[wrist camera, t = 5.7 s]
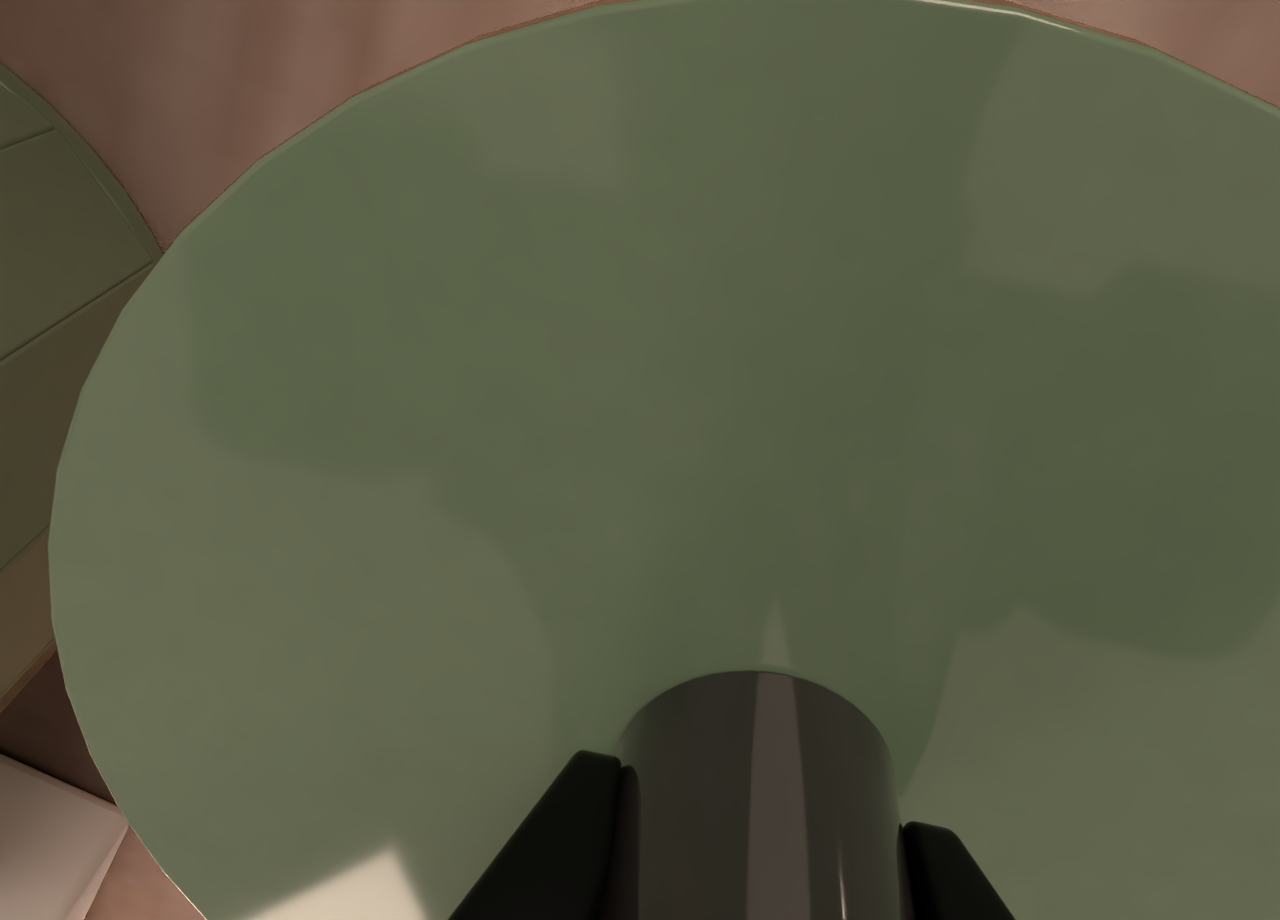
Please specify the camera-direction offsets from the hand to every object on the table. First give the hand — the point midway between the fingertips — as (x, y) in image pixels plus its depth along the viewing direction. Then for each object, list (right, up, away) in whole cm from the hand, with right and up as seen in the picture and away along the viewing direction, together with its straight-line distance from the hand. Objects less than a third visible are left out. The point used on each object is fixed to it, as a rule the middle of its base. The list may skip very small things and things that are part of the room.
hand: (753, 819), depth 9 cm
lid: (0, +1, +1) cm, 1 cm away
